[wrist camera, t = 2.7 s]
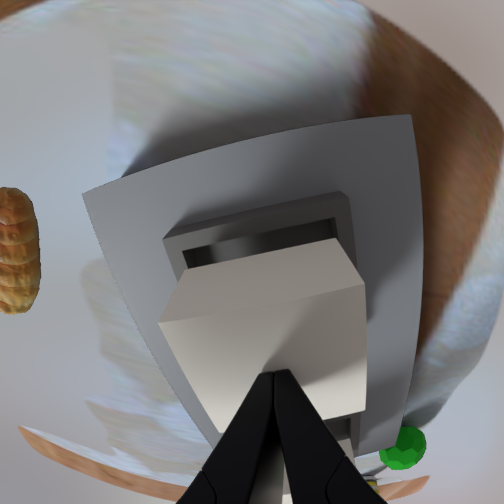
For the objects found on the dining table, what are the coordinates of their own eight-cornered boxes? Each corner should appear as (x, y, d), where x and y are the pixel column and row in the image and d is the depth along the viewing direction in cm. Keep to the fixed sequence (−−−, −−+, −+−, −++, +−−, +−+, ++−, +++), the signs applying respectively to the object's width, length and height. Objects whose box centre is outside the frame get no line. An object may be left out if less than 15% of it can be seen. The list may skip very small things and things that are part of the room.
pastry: (-2, 170, 15) (-38, 182, 11) (56, 203, 16) (19, 222, 12) (-8, 271, 18) (-34, 291, 14) (44, 308, 19) (19, 335, 15)
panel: (383, 412, 22) (398, 456, 17) (235, 438, 24) (231, 484, 19) (375, 116, 13) (425, 113, 8) (120, 178, 15) (66, 200, 10)
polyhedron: (409, 437, 24) (420, 469, 20) (370, 446, 25) (379, 481, 20) (424, 412, 22) (439, 447, 18) (382, 422, 23) (394, 461, 18)
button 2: (347, 353, 11) (365, 410, 8) (226, 374, 12) (219, 432, 9) (335, 237, 9) (364, 283, 6) (184, 269, 10) (158, 323, 7)
